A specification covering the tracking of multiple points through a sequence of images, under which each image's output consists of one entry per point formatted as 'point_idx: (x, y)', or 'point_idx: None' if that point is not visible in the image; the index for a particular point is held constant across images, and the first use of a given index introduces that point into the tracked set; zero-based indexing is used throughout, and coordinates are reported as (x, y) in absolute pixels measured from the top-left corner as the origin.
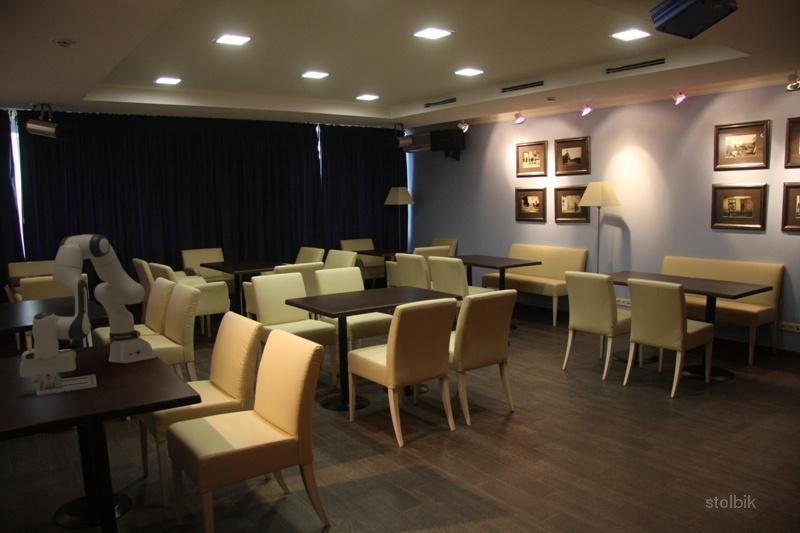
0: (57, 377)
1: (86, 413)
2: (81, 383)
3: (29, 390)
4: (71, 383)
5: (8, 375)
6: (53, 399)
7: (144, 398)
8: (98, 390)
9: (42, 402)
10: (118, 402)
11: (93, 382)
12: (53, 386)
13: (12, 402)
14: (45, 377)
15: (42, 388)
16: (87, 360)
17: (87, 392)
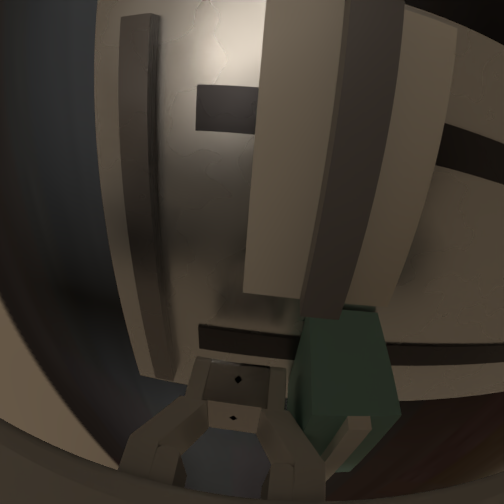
0: None
1: None
2: (491, 361)
3: (55, 149)
4: (456, 321)
5: None
6: (257, 443)
7: (469, 481)
8: (476, 417)
9: (205, 446)
10: (417, 492)
11: None
12: (283, 326)
13: (55, 368)
14: (180, 430)
15: (173, 325)
16: None
17: (431, 426)
